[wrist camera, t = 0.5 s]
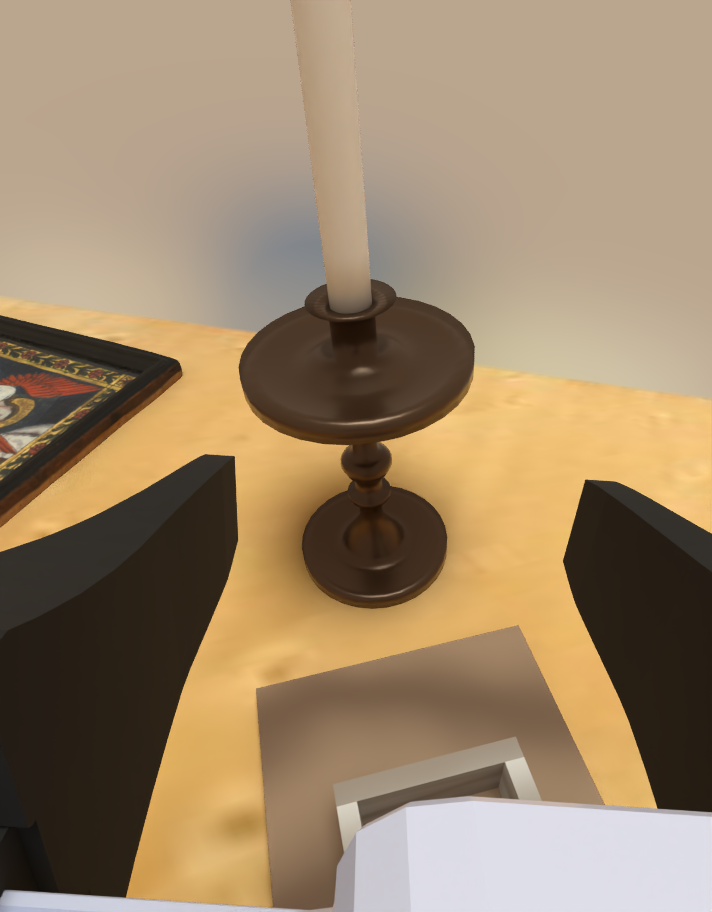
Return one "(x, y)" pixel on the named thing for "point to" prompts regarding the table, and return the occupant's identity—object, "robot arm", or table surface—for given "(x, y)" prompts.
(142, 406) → the religious icon
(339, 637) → the table surface
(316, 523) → the candlestick
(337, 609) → the table surface
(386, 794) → the brown socket board
